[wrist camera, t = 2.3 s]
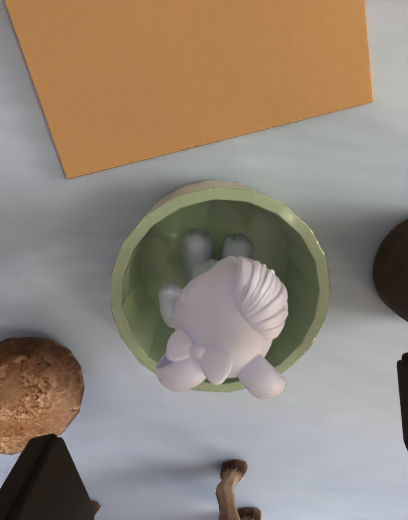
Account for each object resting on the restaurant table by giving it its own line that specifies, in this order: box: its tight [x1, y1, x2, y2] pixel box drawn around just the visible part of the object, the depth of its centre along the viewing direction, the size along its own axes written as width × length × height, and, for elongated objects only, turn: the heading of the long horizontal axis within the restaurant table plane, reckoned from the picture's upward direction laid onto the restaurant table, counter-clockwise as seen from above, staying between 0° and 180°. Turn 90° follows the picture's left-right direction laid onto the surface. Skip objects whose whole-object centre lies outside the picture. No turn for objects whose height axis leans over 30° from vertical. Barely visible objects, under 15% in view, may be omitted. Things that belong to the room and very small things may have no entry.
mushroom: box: [0, 337, 84, 455], centre depth 24 cm, size 8×8×6 cm
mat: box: [4, 0, 373, 179], centre depth 20 cm, size 20×12×1 cm, turn 104°
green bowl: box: [111, 180, 330, 392], centre depth 21 cm, size 12×12×6 cm
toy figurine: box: [156, 229, 288, 399], centre depth 18 cm, size 7×6×12 cm
